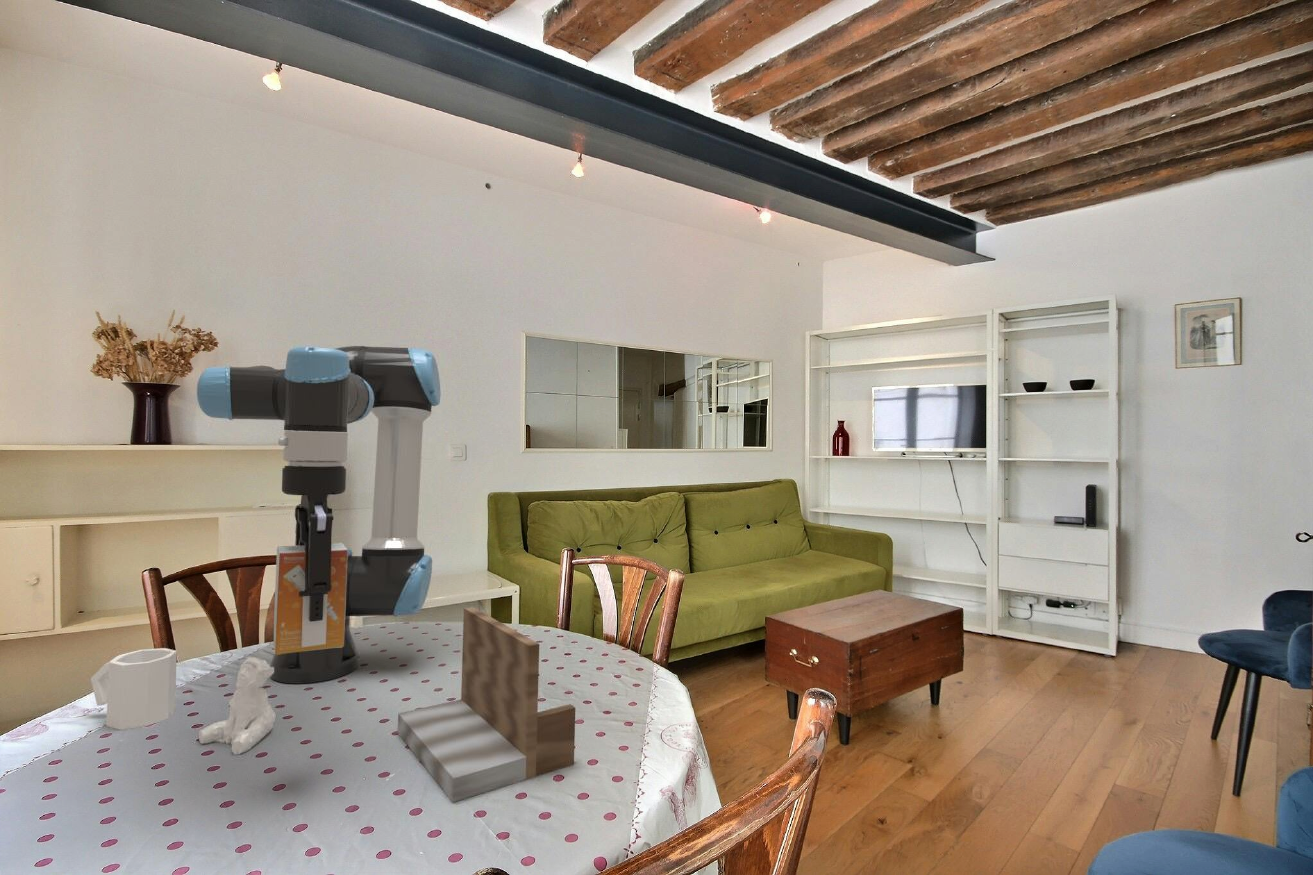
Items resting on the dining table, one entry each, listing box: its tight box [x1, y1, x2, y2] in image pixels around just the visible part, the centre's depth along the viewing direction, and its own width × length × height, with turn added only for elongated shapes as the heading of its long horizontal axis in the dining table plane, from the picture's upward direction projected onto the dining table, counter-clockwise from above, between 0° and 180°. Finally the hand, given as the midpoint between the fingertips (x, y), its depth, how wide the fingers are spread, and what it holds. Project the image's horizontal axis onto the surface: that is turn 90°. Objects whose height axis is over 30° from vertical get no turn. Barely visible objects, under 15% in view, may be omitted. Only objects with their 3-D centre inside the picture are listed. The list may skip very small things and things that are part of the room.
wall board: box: [397, 606, 576, 803], centre depth 97 cm, size 24×18×18 cm
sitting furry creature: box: [198, 656, 277, 756], centre depth 98 cm, size 10×9×12 cm
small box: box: [273, 542, 348, 655], centre depth 87 cm, size 8×6×13 cm
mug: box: [90, 647, 178, 731], centre depth 104 cm, size 12×9×10 cm
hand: (309, 637), depth 86 cm, fingers closed on small box, 6 cm apart
